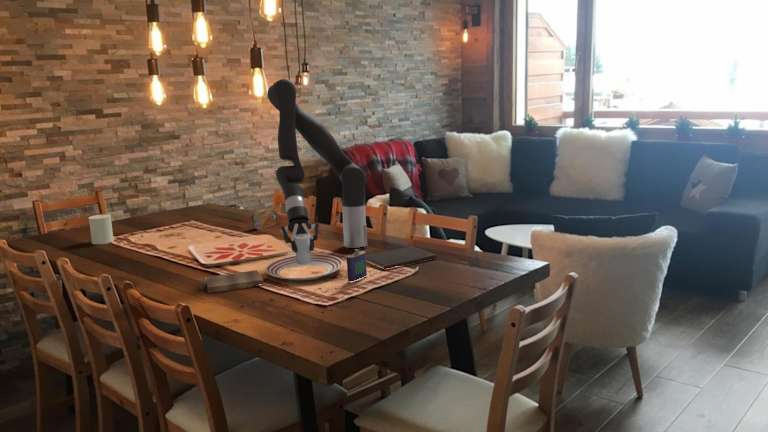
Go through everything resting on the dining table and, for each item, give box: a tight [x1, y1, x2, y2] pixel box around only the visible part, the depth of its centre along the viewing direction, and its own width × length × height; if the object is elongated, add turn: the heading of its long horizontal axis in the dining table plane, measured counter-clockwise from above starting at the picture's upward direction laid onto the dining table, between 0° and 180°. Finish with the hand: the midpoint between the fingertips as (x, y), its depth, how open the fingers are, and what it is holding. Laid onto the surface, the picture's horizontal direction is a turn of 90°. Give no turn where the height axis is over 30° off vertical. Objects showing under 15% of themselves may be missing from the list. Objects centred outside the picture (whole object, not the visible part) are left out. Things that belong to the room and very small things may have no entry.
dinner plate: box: [265, 253, 344, 281], centre depth 231 cm, size 27×27×3 cm
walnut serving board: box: [199, 270, 264, 294], centre depth 220 cm, size 20×12×2 cm, turn 111°
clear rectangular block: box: [249, 208, 278, 230], centre depth 303 cm, size 15×3×8 cm, turn 143°
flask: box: [346, 249, 368, 282], centre depth 220 cm, size 9×3×11 cm, turn 144°
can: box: [87, 213, 115, 245], centre depth 286 cm, size 9×9×12 cm
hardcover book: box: [366, 245, 438, 269], centre depth 242 cm, size 16×23×2 cm
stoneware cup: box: [294, 233, 312, 264], centre depth 229 cm, size 6×6×10 cm
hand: (303, 250), depth 228 cm, fingers closed on stoneware cup, 5 cm apart
